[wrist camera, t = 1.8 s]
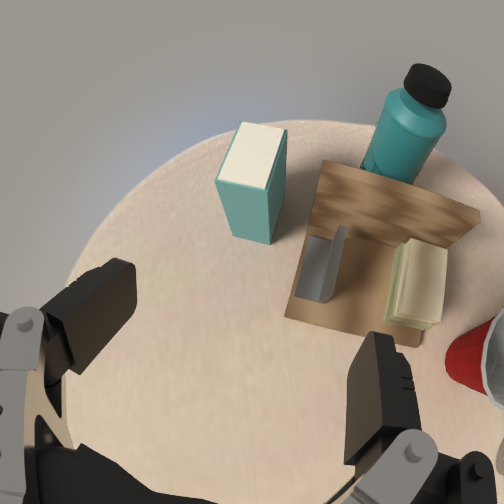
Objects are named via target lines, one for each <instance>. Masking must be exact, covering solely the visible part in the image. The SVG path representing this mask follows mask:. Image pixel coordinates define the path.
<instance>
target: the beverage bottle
mask: <svg viewBox="0 0 504 504" xmlns="http://www.w3.org/2000/svg"><path fill="white" fill-rule="evenodd" d="M451 88H452V87H451V83H450V81H449V80H448V79H447V78H446V77H445V75H443V74H442V73H441V72H440V71H438V70H437V69H435V68H433V67H431V66H429V65H425V64H414V65H412V66H411V68H410V70H409V72H408V74H407V76H406V78H405V80H404V88H400V89H396V90H393V91H391V92H390V93H389V94H388V95H387V97H386V100H385V105H384V108H383V111H382V114H381V117H380V119H379V122H378V125H377V127H376V130H375V132H374V135H373V137H371V138H372V140H371V143H370V146H369V145H368V146H369V148H368V151H367V154H366V156H365V158H364V160H362V161H363V162H362V166H361V167H360V168H361V170H364V171H368V172H371V173H375V174H378V175H381V176H385V177H388V178H391V179H394V180H397V181H401V182H404V183H407V184H410V185H412V184H413V182H414V181H413V180H415V177H416V176H417V175H418V173H419V171H421V168H423V167H422V166H423V165H424V163H425V161H426V160H427V158H428V156H429V155H430V153H431V152H432V150H433V148H434V147H435V145H436V143H437V142H438V140H439V138H440V137H441V135H442V134H443V133H444V132H445V129H446V119H445V116H444V114H443V112H442V110H441V108H443V107H445V105H446V103H447V101H448V97H449V95H450V92H451ZM360 168H359V169H360ZM419 174H420V173H419ZM416 178H417V177H416ZM411 183H412V184H411Z"/></svg>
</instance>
